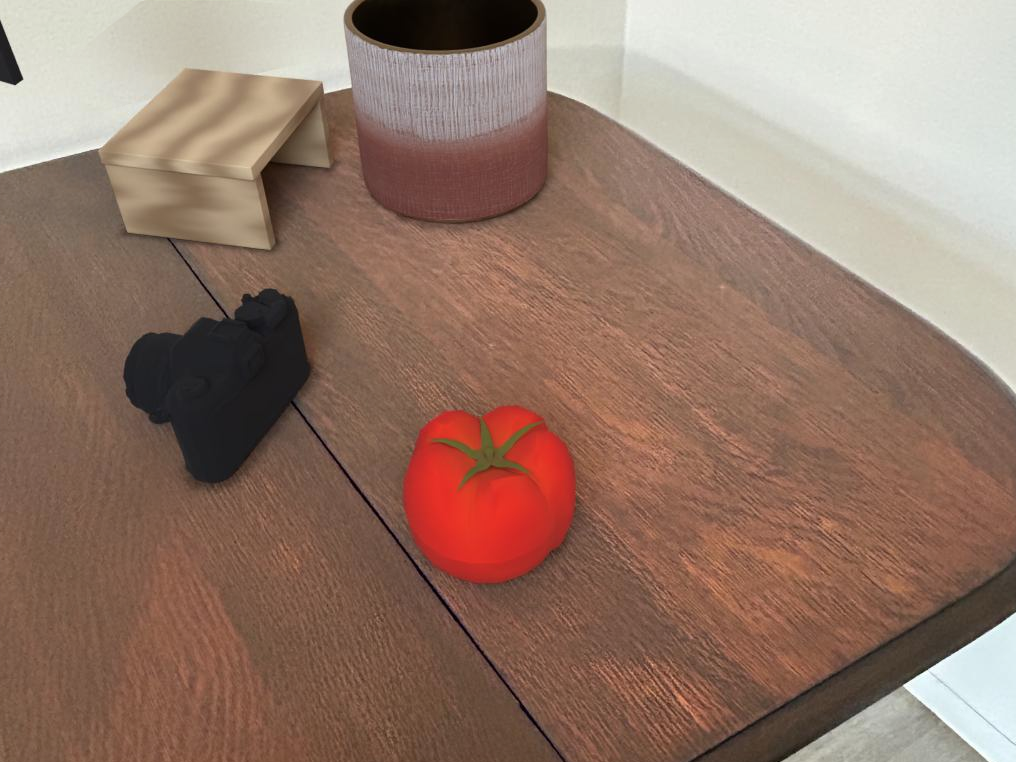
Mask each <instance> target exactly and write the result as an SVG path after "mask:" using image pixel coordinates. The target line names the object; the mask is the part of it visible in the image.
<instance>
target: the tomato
mask: <svg viewBox="0 0 1016 762" xmlns="http://www.w3.org/2000/svg"><path fill="white" fill-rule="evenodd" d="M546 422H547V420H546V419H545V418H544V417H542V416H541V415H539V414H537V413H536V412H534V411H532V410H529V409H527V408H525V407H523V406H521V405H518V404H511V405H499V406H497V407H496V408H494V409H492V410H490V411H489V412H486V414H483V415H480V417H477V416H475V415H473V414H471V413H469V412H467V411H466V410H463V409H454V410H446V411H442V412H441V413H439V414H438V415H437V416H436V417H434V418H432V419H431V420H429V422H428V423H426V424H425V425H424V426H423V427H422V428H420V430H419V432H418V434H417V435H418V436H417V439H416V442H415V445H414V448H413V451H412V453H411V457H410V460H409V462H408V466H407V470H406V473H405V476H404V479H403V481H402V505H403V509H404V513H405V515H406V519H407V523H408V526H409V529H410V532H411V535H412V539H413V542H414V543H415V545H416V546H417V548H418V549H419V550H420V551H421V553H422V554H423V555H424V557H426V558H427V560H428V561H429V562H430V563H431V564H432V566H434V567H435V568H436V569H438V570H439V571H441V572H443V573H445V574H447V575H448V576H451V577H452V578H454V579H458V580H462V581H466V582H470V583H473V584H498V583H499V584H500V583H504V582H507V581H510V580H513V579H516V578H519V577H522V576H525V575H526V574H527V573H529V572H530V571H531V572H532V570H534V569H535V568H537V567H538V566H540V565H541V564H542V563H543V562H544V560H545V559H546V558H547V557H548V555H549V554H550V553H551V552H552V551H553V550H555V549H557V548H559V547H560V546H561V545H562V543H563V541H564V539H565V537H566V534H567V532H568V530H569V529H570V527H571V524H572V523H573V520H574V514H575V507H576V500H577V499H576V497H577V496H576V495H577V494H576V492H577V491H576V490H577V482H576V481H577V480H576V479H577V478H576V472H575V461H574V459H573V457H572V455H571V453H570V451H569V448H568V446H567V443H566V442H565V441H563V440H562V439H561V438H560V437H559V436H557V435H556V434H555V433H554V432H553V431H550V430H549V428H548V426H547V423H546Z"/></svg>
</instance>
